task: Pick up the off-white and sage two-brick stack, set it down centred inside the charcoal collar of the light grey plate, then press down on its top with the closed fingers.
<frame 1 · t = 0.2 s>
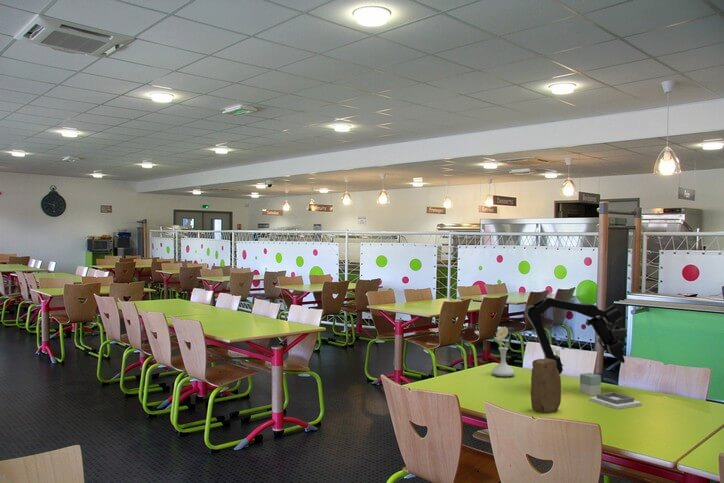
hand: (620, 360, 245), 15 cm above the table, tool tilted 30°, fingers open, 9 cm apart
flower in vase: (503, 376, 277), on the table
figurine: (552, 376, 276), on the table
socket plate: (615, 402, 229), on the table
brick stack: (590, 392, 245), on the table
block: (546, 410, 218), on the table
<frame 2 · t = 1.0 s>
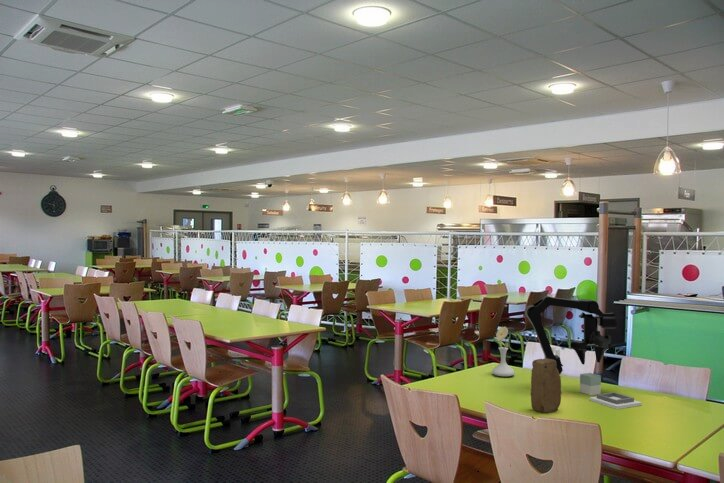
hand: (590, 363, 245), 13 cm above the table, tool pointing down, fingers open, 9 cm apart
nothing on the table moved.
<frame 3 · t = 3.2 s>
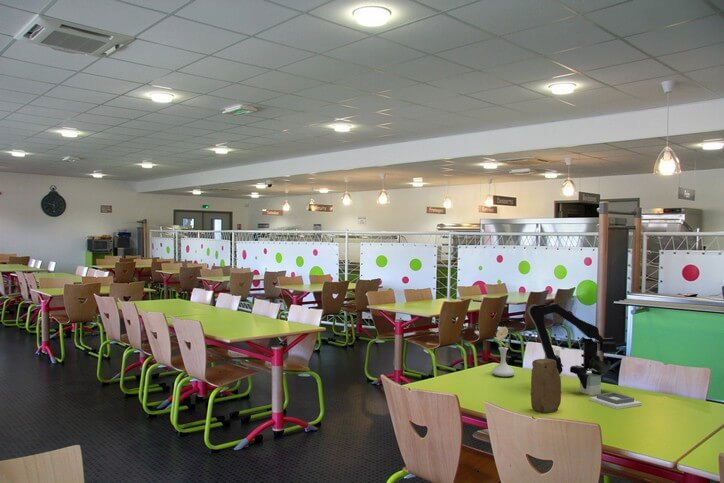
hand: (590, 388, 245), 2 cm above the table, tool pointing down, fingers closed on brick stack, 6 cm apart
brick stack: (590, 392, 245), on the table, touching gripper
everything else where it was.
when the fingers open (4 cm above the table, at t = 8.2 s): brick stack stays where it is, resting on socket plate.
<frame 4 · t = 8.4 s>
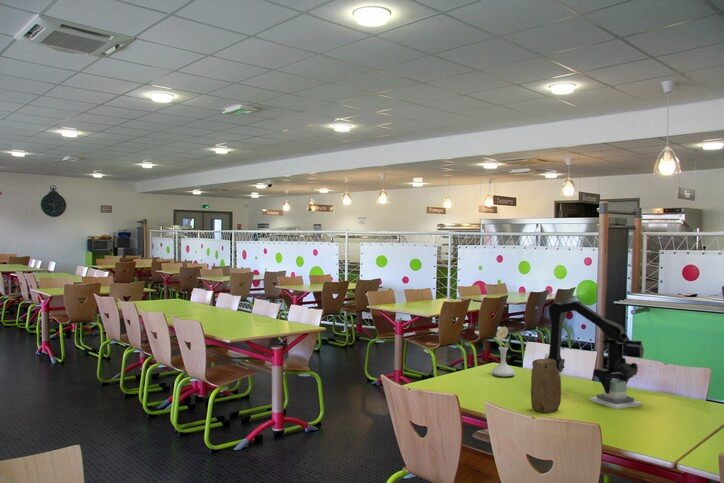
hand: (615, 392, 230), 4 cm above the table, tool pointing down, fingers open, 8 cm apart
brick stack: (615, 399, 230), point 1 cm above the table, touching socket plate
everything else where it was.
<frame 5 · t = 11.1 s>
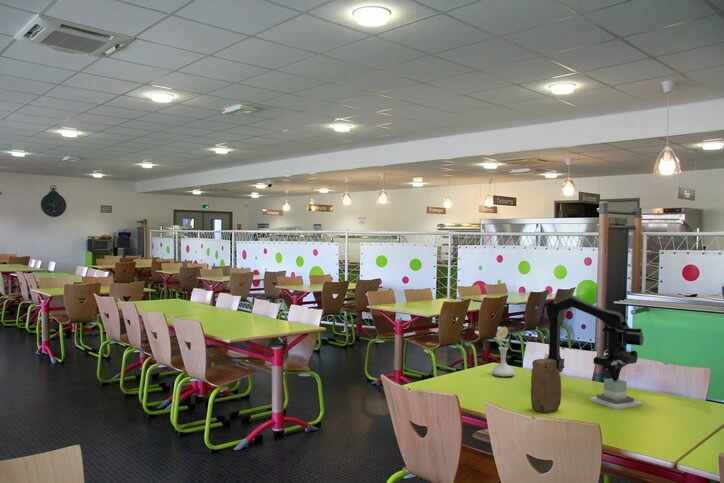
hand: (615, 380, 230), 9 cm above the table, tool pointing down, fingers closed, pressing on brick stack
brick stack: (615, 399, 230), point 1 cm above the table, touching gripper, socket plate
everything else where it was.
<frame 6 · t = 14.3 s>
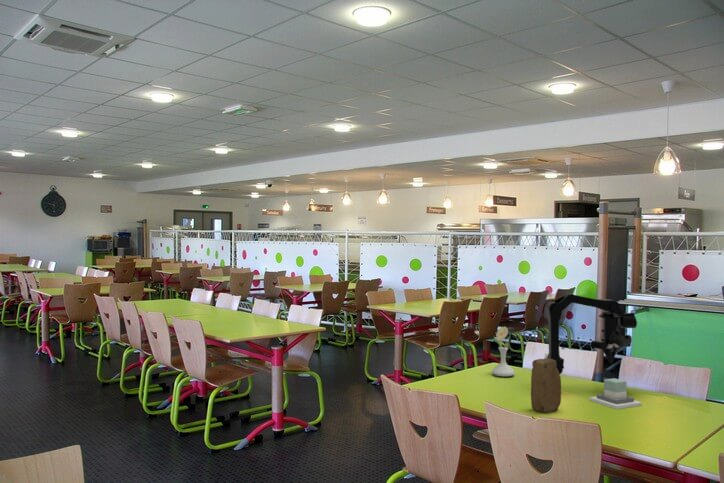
hand: (610, 363, 246), 13 cm above the table, tool pointing down, fingers closed
brick stack: (615, 399, 230), point 1 cm above the table, touching socket plate
everything else where it was.
at the end: brick stack 0.0 cm off-centre on the socket plate, point 1.2 cm above the socket plate's base; brick stack tilted 0°; the gripper is holding nothing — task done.
